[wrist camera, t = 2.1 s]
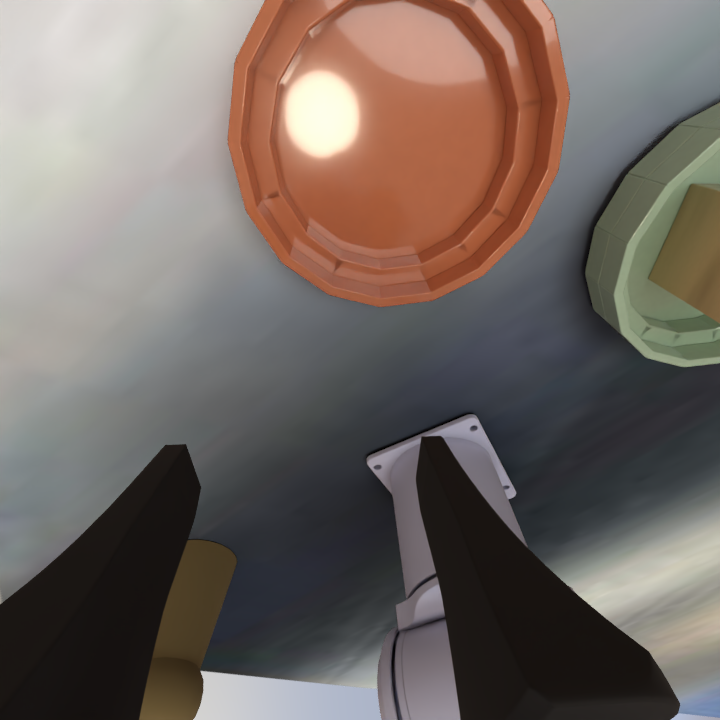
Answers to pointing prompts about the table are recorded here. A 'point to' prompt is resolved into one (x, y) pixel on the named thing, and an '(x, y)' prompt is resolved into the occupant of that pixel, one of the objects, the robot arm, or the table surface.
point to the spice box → (693, 252)
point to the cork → (187, 631)
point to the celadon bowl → (655, 248)
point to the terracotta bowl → (396, 138)
